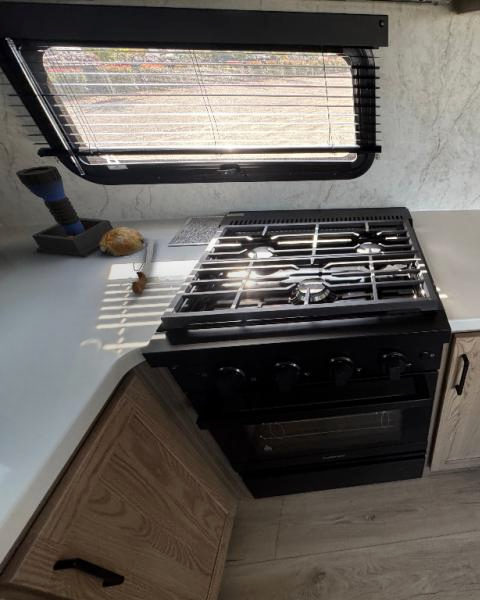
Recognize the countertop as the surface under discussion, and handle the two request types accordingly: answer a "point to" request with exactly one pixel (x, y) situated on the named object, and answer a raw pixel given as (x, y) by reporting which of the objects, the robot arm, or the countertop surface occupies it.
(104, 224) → the dark grey tray
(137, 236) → the bread roll
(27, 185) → the flashlight
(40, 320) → the countertop surface
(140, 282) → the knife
